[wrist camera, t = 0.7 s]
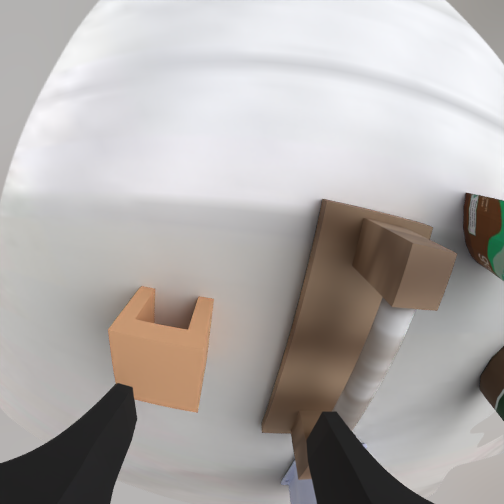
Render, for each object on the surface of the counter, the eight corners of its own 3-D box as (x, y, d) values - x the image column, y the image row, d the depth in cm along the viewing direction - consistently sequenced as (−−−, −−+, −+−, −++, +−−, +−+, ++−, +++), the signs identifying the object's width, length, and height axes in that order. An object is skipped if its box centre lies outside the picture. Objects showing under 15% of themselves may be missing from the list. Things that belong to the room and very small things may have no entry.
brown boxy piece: (341, 424, 23) (357, 475, 16) (261, 424, 22) (265, 482, 16) (425, 224, 17) (487, 251, 11) (322, 198, 16) (366, 219, 10)
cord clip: (206, 357, 20) (197, 412, 14) (142, 345, 19) (117, 394, 14) (213, 299, 18) (203, 349, 13) (141, 286, 18) (108, 329, 12)
